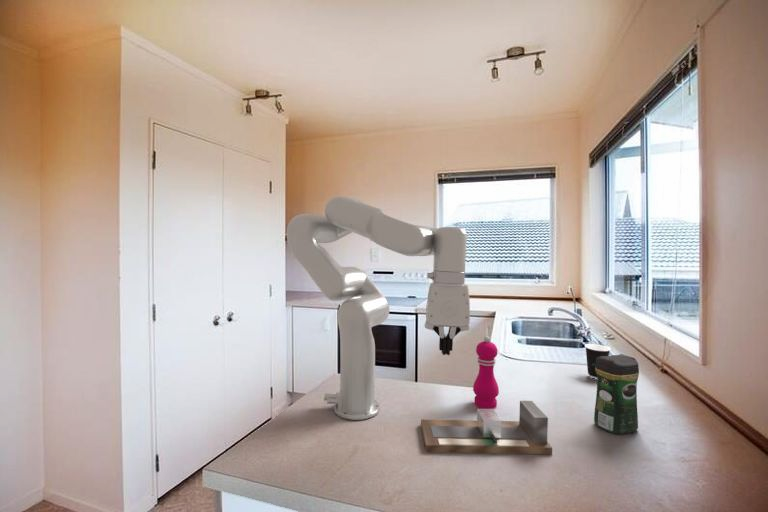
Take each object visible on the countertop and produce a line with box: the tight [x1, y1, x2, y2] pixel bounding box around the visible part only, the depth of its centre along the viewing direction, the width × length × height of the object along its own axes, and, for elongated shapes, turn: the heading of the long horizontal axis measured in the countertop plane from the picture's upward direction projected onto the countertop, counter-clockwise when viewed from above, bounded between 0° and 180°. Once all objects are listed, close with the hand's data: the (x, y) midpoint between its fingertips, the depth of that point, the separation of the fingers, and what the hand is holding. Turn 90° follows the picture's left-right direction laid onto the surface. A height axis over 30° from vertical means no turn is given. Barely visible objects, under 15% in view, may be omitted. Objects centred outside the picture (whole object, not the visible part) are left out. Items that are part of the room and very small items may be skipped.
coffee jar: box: [593, 353, 640, 435], centre depth 93 cm, size 10×8×19 cm
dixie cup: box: [584, 343, 611, 379], centre depth 129 cm, size 8×8×11 cm
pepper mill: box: [472, 335, 500, 409], centre depth 106 cm, size 7×7×20 cm
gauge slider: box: [476, 408, 502, 443], centre depth 85 cm, size 4×9×4 cm, turn 0°
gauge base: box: [420, 400, 553, 455], centre depth 87 cm, size 28×12×8 cm, turn 90°
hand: (445, 353), depth 89 cm, fingers closed
